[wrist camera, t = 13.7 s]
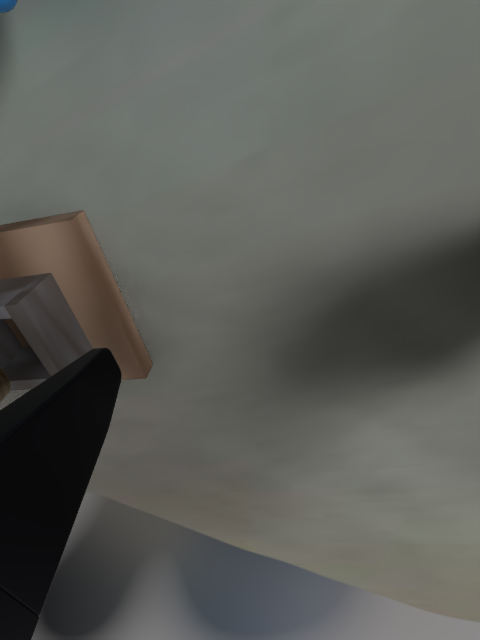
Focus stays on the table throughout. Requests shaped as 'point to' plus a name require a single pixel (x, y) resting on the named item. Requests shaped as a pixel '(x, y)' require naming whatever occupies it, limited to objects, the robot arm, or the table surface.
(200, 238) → the table surface
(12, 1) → the alarm clock
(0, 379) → the bronze post
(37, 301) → the post stand
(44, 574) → the robot arm
